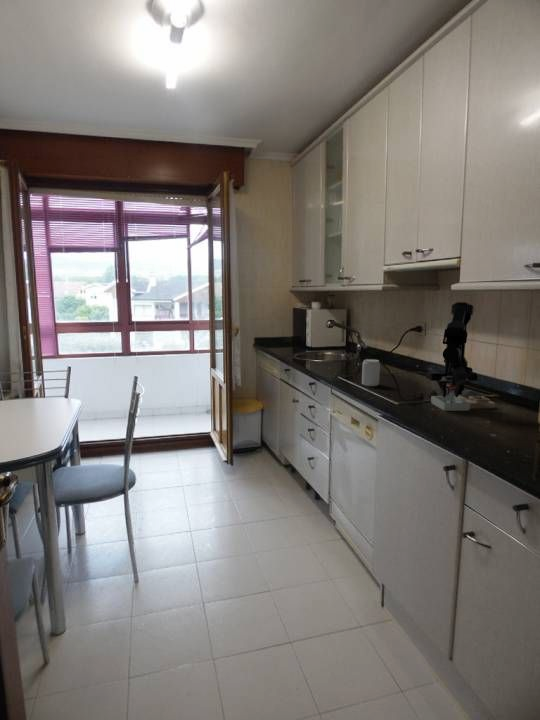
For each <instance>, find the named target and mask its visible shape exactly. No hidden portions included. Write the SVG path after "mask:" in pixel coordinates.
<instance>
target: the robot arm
mask: <svg viewBox="0 0 540 720" xmlns="http://www.w3.org/2000/svg"><path fill="white" fill-rule="evenodd" d="M450 313H451V315H452V320H451V322H449V323H447V325H446V328H444V331H443V339H442V344H443V345H446V347H445V348H444V349H443V351H442V358H443V363H444V369H442V373H441V372H438V371H437V370H434V371H432V370H428V371H427V372H426V374H425V378H426V379H427V380H429V381H431V382H437V385H438V387H439V389H440V392H441V394H442V395H441V396H443V397H444V398H445V396H447V388H446V385H447V384H448V381H447V379H448V380H450V384H451V385H456V389H455V394H454V395H455V397H458V395H460V394H462V391H465V387H466V386H465V385H466V384H467V383H470V382H471V381H475V382H477V381H478V380H479V374H478V373H477V372H475V371H473V368H472V367H469V366H468V363H469V362H468V360H467V359H466V357H465V356H466V355H465V353H466V344H467V341H468V334H469V333H468V332H467V331H468V330H467V326H468V323H469V322H470V321H471V319H472V316H473V315H474V305H473V304H470V303H469V302H466V301H463V302H462V301H457V302H454V304H453V303H452V304H451V311H450Z"/></svg>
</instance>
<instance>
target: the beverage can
mask: <svg viewBox="0 0 540 720" xmlns="http://www.w3.org/2000/svg"><path fill="white" fill-rule="evenodd" d="M361 370H362V371H361V385H363V386H365V387H377V386H379V384H380V372H381V371H380V370H381V363H380V360H379V359H373V358H372V359H371V358H367V359H363V361H362V368H361Z"/></svg>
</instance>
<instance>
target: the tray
mask: <svg viewBox="0 0 540 720" xmlns="http://www.w3.org/2000/svg"><path fill="white" fill-rule="evenodd" d="M430 397H431V398H430V403H431V404H432V405H434V406H436V407H437V408H439V409H440V410H443V411H444V412H451V411H452V412H453V411H454V412H458V411H462V412H465V411H470V409H471V408H470V403H468V402H466V401H464V400H462V399H460V398H458V397H455V396H454V403H446V398H447V395H446V396H445V398H444V397H443V395H431V396H430Z"/></svg>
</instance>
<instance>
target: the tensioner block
mask: <svg viewBox="0 0 540 720" xmlns="http://www.w3.org/2000/svg"><path fill="white" fill-rule="evenodd" d="M478 393H479V392H477V391H474V390H470V389H467V390H464V391H462V393H461V394H459V395H458V398H460V399H462V400H464V401H466V402H468V403H470V408H469V409H495V408H496V403H495V402H494V401H492V400H490V398H488V397H486V396H483V395H479V394H478ZM454 396H455V394H454Z"/></svg>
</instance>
